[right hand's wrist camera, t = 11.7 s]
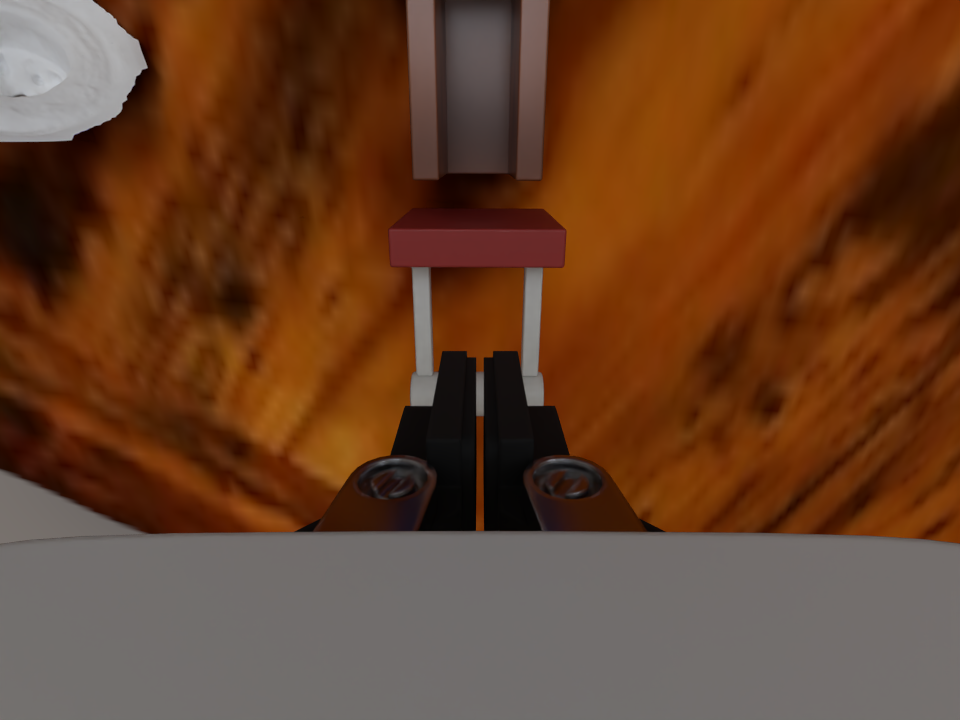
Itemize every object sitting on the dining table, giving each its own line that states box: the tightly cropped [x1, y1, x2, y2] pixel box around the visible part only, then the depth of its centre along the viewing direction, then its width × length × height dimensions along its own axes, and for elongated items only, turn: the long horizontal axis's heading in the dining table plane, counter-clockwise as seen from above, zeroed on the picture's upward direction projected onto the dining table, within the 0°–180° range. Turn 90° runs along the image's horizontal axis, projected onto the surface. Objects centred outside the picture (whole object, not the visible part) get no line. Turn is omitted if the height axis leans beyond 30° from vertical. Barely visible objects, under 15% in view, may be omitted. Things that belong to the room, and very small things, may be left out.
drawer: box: [388, 0, 566, 416], centre depth 18 cm, size 22×6×6 cm, turn 0°
